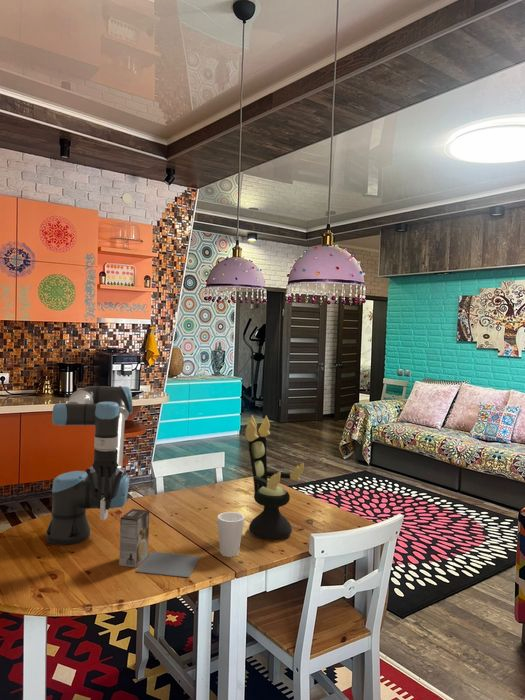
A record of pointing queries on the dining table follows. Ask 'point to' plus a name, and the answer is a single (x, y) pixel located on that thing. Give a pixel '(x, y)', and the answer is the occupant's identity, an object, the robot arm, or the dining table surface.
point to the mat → (169, 564)
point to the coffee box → (134, 537)
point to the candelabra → (268, 486)
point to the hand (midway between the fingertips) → (103, 518)
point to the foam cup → (230, 532)
